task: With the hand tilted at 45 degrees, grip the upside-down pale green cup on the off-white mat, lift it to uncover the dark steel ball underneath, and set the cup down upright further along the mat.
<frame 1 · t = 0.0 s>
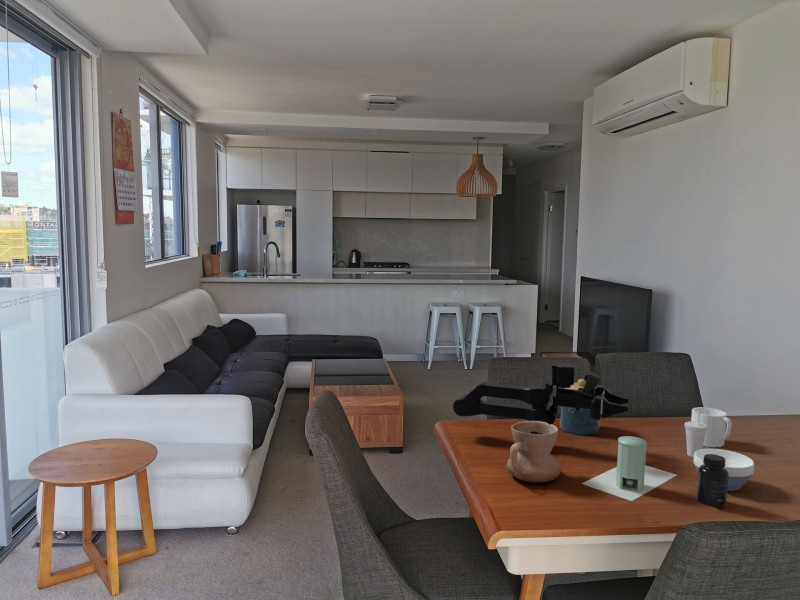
hand: (628, 404, 183), 17 cm above the table, tool horizontal, fingers open, 9 cm apart
canister: (579, 430, 212), on the table
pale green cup: (629, 486, 163), resting on off-white mat
mug: (710, 444, 200), on the table
ceramic jug: (531, 478, 169), on the table
steel ball: (629, 481, 163), point 2 cm above the table, touching off-white mat
bowl: (721, 485, 167), on the table
off-white mat: (630, 480, 168), on the table
smoothie: (693, 455, 189), on the table
supplement bottle: (711, 504, 155), on the table
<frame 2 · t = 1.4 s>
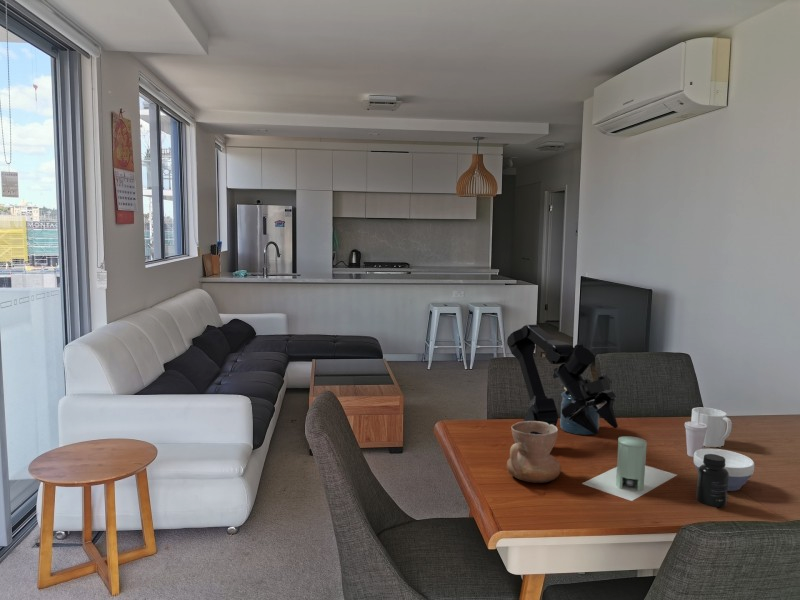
hand: (607, 430, 168), 14 cm above the table, tool tilted 45°, fingers open, 9 cm apart
nothing on the table moved.
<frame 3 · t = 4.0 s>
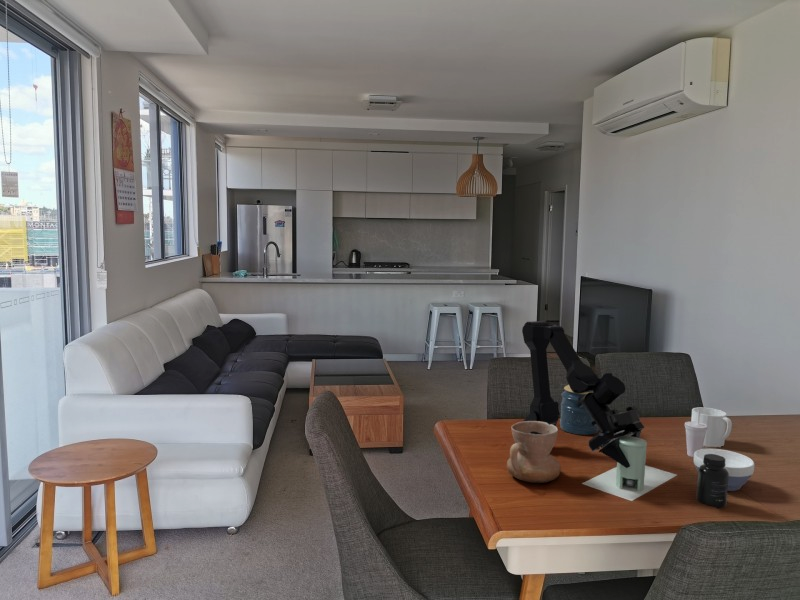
hand: (636, 464, 162), 7 cm above the table, tool tilted 45°, fingers closed on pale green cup, 7 cm apart
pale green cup: (629, 486, 163), point 1 cm above the table, touching gripper, off-white mat
everything else where it was.
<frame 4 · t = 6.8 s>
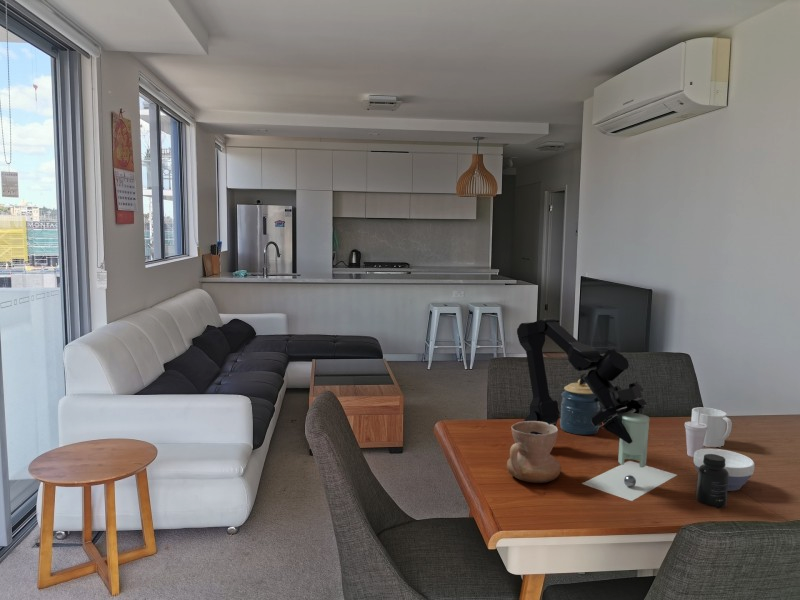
hand: (638, 440, 161), 13 cm above the table, tool tilted 45°, fingers closed on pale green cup, 7 cm apart
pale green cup: (631, 462, 163), point 7 cm above the table, touching gripper
everything else where it was.
when the fingers open (8 cm above the table, at t = 9.6 s): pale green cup drops 1 cm, resting on off-white mat.
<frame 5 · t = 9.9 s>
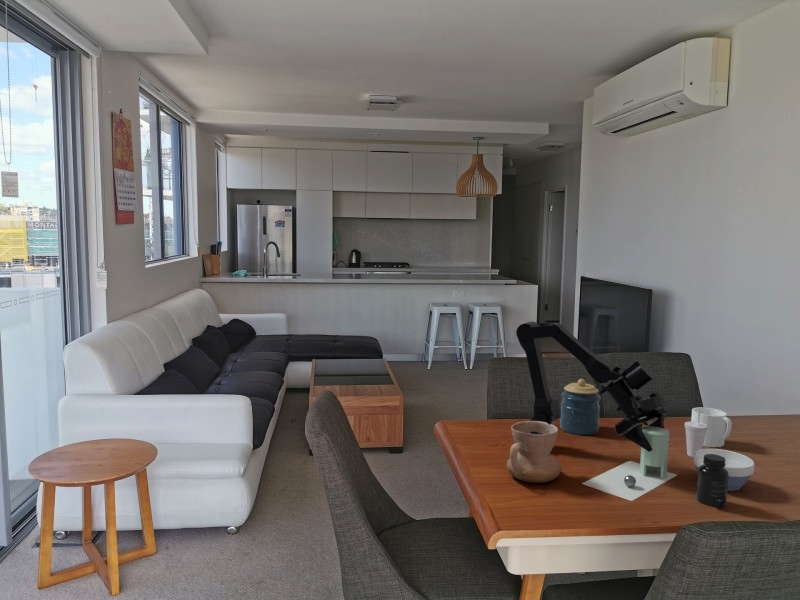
hand: (659, 447, 170), 9 cm above the table, tool tilted 45°, fingers open, 9 cm apart
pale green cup: (652, 474, 172), resting on off-white mat
everything else where it was.
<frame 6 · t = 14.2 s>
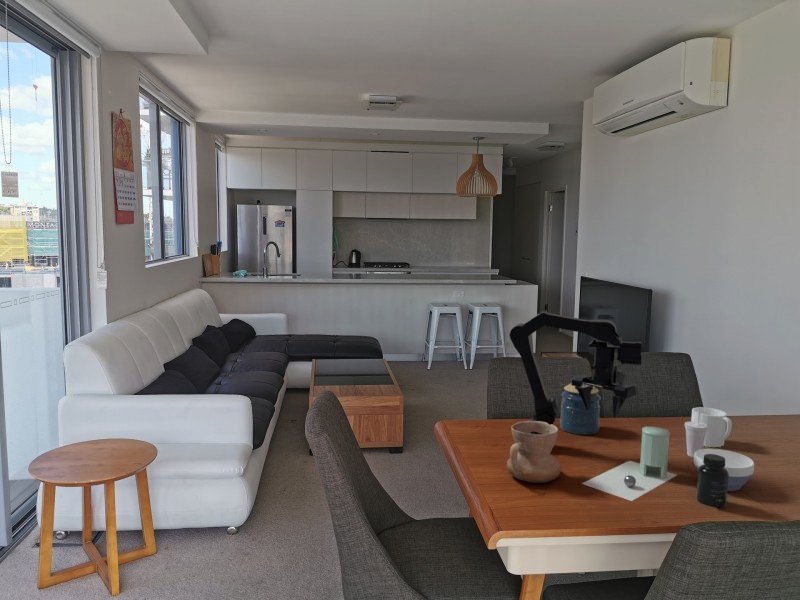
hand: (601, 413, 186), 13 cm above the table, tool pointing down, fingers open, 9 cm apart
nothing on the table moved.
at the end: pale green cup inside the target area (0.1 cm from its centre), point 0.5 cm above the table; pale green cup tilted 0°; steel ball moved 0.0 cm from its start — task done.
